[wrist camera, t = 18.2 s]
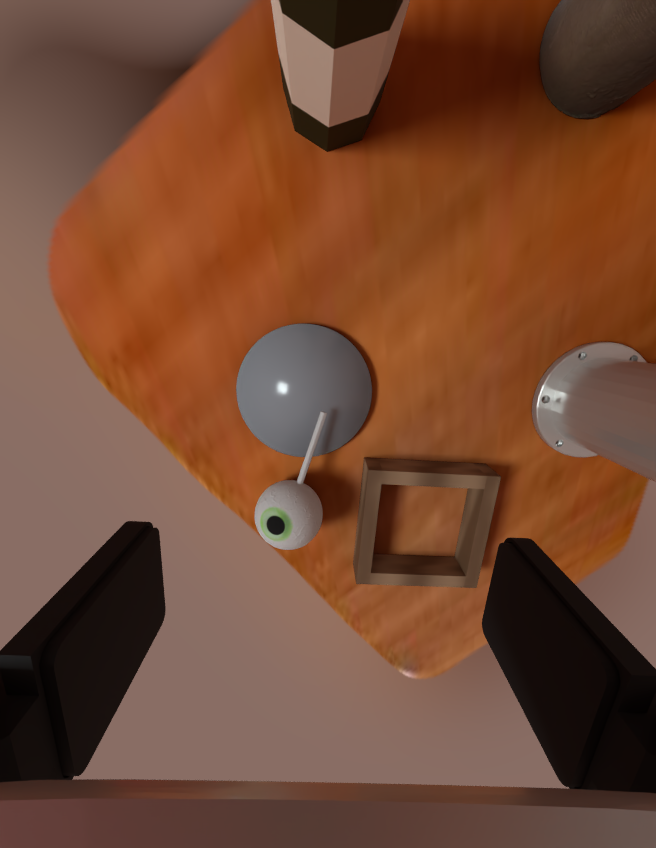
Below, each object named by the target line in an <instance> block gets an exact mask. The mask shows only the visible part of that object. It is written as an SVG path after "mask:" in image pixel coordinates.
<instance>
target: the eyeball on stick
mask: <svg viewBox="0 0 656 848" xmlns="http://www.w3.org/2000/svg"><path fill="white" fill-rule="evenodd" d="M326 415H327V413H325V412H322V411H321V412H320V415H319V418H318V421H317V424H316V427H315V430H314V433H313V436H312V439H311V442H310V444H309V447H308V450H307V453H306V456H305V459H304V462H303V465H302V468H301V471H300V474H299V477H298V480H297V481H295V480H284V481H280V482H277V483H275V484H273V485H271V486H270V487H268V488H267V489H266V490H265V491H264V492H263V494H262V495H261V497H260V498H259V500H258V502H257V505H256V508H255V523H256V526H257V529H258V531H259V533H260V535H261V536H262V538H263V539H264V540H265V541H266V542H267V543H269V544H270V545H272V546H274V547H276V548H279V549H284V550H291V549H297V548H300V547H303V546H305V545H306V544H308V543H309V542H310V541H311V540H312V539H313V538H314V537H315V536H316V534H317V533H318V531H319V529H320V526H321V524H322V517H323V511H322V505H321V501H320V499H319V497H318V496H317V494H316V493H315V492H314V490H313V489H312V488H311V487H309V486H308V485H306V484H304V483H303V482H304V479H305V476H306V473H307V470H308V468H309V465H310V462H311V459H312V456H313V453H314V450H315V447H316V444H317V441H318V439H319V436H320V433H321V430H322V427H323V424H324V421H325V418H326Z"/></svg>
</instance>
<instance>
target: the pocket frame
mask: <svg viewBox="0 0 656 848" xmlns="http://www.w3.org/2000/svg"><path fill="white" fill-rule="evenodd" d="M500 479H501V476H500V475H498V474H497V473H496V472H495V471H494V470H492V469H491V468H490V467H489V466H488V465H487V464H479V463H460V462H440V461H421V460H402V459H383V458H364V464H363V473H362V483H361V493H360V502H359V512H358V522H357V531H356V541H355V551H354V560H353V566H354V572H355V579H356V584H377V585H406V586H436V587H465V588H477V583H478V579H479V574H480V570H481V565H482V561H483V556H484V552H485V547H486V543H487V538H488V534H489V529H490V525H491V520H492V515H493V511H494V506H495V502H496V497H497V493H498V488H499V484H500ZM381 484H390V485H410V486H431V487H451V488H468V491H467V496H466V501H465V506H464V512H463V517H462V522H461V527H460V532H459V537H458V542H457V547H456V553H455V557H441V556H415V555H389V554H373V550H374V542H375V533H376V525H377V517H378V508H379V500H380V492H381Z"/></svg>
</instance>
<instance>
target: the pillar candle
mask: <svg viewBox="0 0 656 848" xmlns="http://www.w3.org/2000/svg"><path fill="white" fill-rule="evenodd" d="M540 71H541V78H542V83H543V86H544V89H545V92H546V94H547V97H548V98H549V100H551V103H552V104H553V105H554V106H555V107H557V108H558V110H559V111H563V113H565V114H566V115H569V116H572V117H574V118H583V119H584V118H585V119H590V118H597V117H599V116H600V115H601V114H604V113H606V112H607V111H609V110H613V109H615V108H616V107H618V106H620V105H621V104H623V103H624V102H625V101H626V100H628V99H629V98H630V97H632V96H633V95H635V94H636V93H637V92H639V91H640V90H641V89H642V88H644V87H645V86H647V85H649V84H650V83H651V82H653V81H654V80H655V79H656V0H561V1H560V3H559V4H558V6H557V7H556V8H555V10H554V11H553V13H552V15H551V17H550V19H549V21H548V24H547V26H546V28H545V31H544V34H543V38H542V43H541V47H540Z"/></svg>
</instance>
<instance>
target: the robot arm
mask: <svg viewBox="0 0 656 848" xmlns="http://www.w3.org/2000/svg"><path fill="white" fill-rule="evenodd" d="M532 416H533V422H534V425H535V428H536V431H537V432H538V434H539V436H540V437H541V439H542V440H543V441H544V442H545V443H546V444H547V445H548V446H550V447H552V448H553V449H555V450H557V451H559V452H561V453H563V454H565V455H569V456H573V457H591V456H597V455H600V456H602V457H604V458H606V459H609V460H611V461H613V462H615V463H617V464H619V465H621V466H623V467H625V468H627V469H629V470H632V471H634V472H636V473H638V474H640V475H642V476H644V477H646V478H648V479H650V480H653V481H655V482H656V364H653V363H647V362H646V361H645V359H644V358H643V357H642V356H641V355H640V354H639V353H638V352H636V351H635V350H634V349H632V348H630V347H628V346H625V345H623V344H618V343H613V342H594V343H588V344H585V345H581V346H578V347H576V348H574V349H572V350H570V351H568V352H566V353H565V354H564V355H562V356H561V357H560V358H558V359H557V360H556V361H555V362H554V363H553V364H552V365H551V366H550V367H549V368H548V369H547V371H546V372H545V374H544V375H543V376H542V378H541V380H540V382H539V384H538V386H537V388H536V391H535V394H534V398H533V404H532ZM160 550H161V549H160V537H159V530H158V529H157V528H153V525H152V523H150V522H137V521H128V522H126V523H125V524H124V525H123V526H122V527H121V528H120V529H119V530H118V531H117V532H116V533H115V534H114V535H113V536H112V537H111V538H110V539H109V540H108V541H107V542H106V543H105V544H104V545H103V546H102V547H101V548H100V549H99V550H98V551H97V552H96V553H95V554H94V555H93V556H92V557H91V558H90V559H89V560H88V562H86V563H85V565H83V566H82V567H81V569H80V570H79V571H78V572H77V573H76V574H75V575H74V576H73V577H72V578H71V579H70V580H69V581H68V582H67V583H66V584H65V585H64V586H63V587H62V588H61V589H60V590H59V591H58V592H57V593H56V594H55V595H54V596H53V597H52V598H51V599H50V600H49V601H48V603H47V604H45V606H43V608H41V609H40V611H39V612H38V613H37V614H36V615H35V616H34V617H33V618H32V619H31V620H30V621H29V622H28V623H27V624H26V625H25V626H24V627H23V628H22V629H21V630H20V631H19V632H18V633H17V634H16V635H15V636H14V637H13V638H12V639H11V640H10V641H9V642H8V643H7V644H6V645H5V646H4V647H3V648H2V650H1V651H0V848H656V669H655V668H654V667H653V666H652V665H651V664H650V663H649V662H648V661H647V660H646V659H645V658H644V656H643V655H642V654H641V653H640V652H639V651H638V650H637V649H636V648H635V647H634V646H633V645H632V644H631V643H630V642H629V641H628V640H627V639H626V638H625V636H624V635H623V634H622V633H621V632H619V630H618V629H617V628H616V627H615V626H614V625H613V624H612V623H611V622H610V621H609V620H608V619H607V618H606V617H605V616H604V615H603V613H602V612H601V611H599V609H598V608H597V607H596V606H595V605H594V604H593V603H592V602H591V601H590V600H589V599H588V598H587V597H586V596H585V595H584V594H583V593H582V592H581V590H579V588H578V587H577V586H576V585H575V584H574V583H573V582H572V581H571V580H570V579H569V578H568V577H567V576H566V575H565V574H564V573H563V572H562V571H561V570H560V568H559V567H558V566H557V565H556V564H555V563H554V562H553V561H552V560H551V559H550V558H549V557H548V556H547V555H546V554H545V553H544V552H543V551H542V550H541V549H540V548H539V547H538V545H537V544H536V543H535V542H534V541H532V540H531V539H528V538H507V539H506V540H505V542H504V543H500V545H499V547H498V551H497V556H496V560H495V565H494V569H493V574H492V578H491V583H490V587H489V592H488V596H487V601H486V605H485V610H484V614H483V619H482V628H483V632H484V635H485V637H486V639H487V641H488V643H489V645H490V647H491V649H492V651H493V653H494V655H495V657H496V659H497V661H498V663H499V665H500V667H501V668H502V670H503V672H504V674H505V676H506V678H507V680H508V682H509V684H510V686H511V688H512V690H513V692H514V693H515V696H516V698H517V699H518V702H519V703H520V705H521V707H522V709H523V711H524V713H525V715H526V717H527V719H528V721H529V723H530V725H531V727H532V729H533V731H534V733H535V734H536V736H537V738H538V740H539V742H540V744H541V746H542V748H543V750H544V752H545V754H546V756H547V758H548V760H549V762H550V764H551V766H552V767H553V770H554V771H555V773H556V775H557V777H558V779H559V780H560V781H561V783H562V784H563V785H564V786H566V787H569V788H570V789H560V788H523V787H488V786H452V785H415V784H371V783H369V784H368V783H324V782H322V783H321V782H276V781H275V782H274V781H209V780H208V781H207V780H144V779H115V780H114V779H110V780H109V779H107V780H104V779H103V780H72V779H73V777H74V776H79V775H81V774H82V773H83V771H84V770H85V769H86V767H87V765H88V763H89V762H90V760H91V758H92V756H93V754H94V752H95V750H96V748H97V746H98V745H99V743H100V741H101V739H102V737H103V735H104V733H105V731H106V729H107V727H108V726H109V724H110V722H111V720H112V718H113V716H114V714H115V712H116V711H117V709H118V707H119V705H120V703H121V701H122V699H123V697H124V695H125V693H126V692H127V689H128V688H129V686H130V684H131V682H132V680H133V678H134V676H135V674H136V673H137V671H138V669H139V667H140V665H141V663H142V661H143V659H144V658H145V655H146V654H147V652H148V650H149V648H150V646H151V644H152V642H153V640H154V639H155V637H156V635H157V633H158V631H159V629H160V627H161V625H162V623H163V620H164V616H165V598H164V586H163V573H162V561H161V551H160Z"/></svg>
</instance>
